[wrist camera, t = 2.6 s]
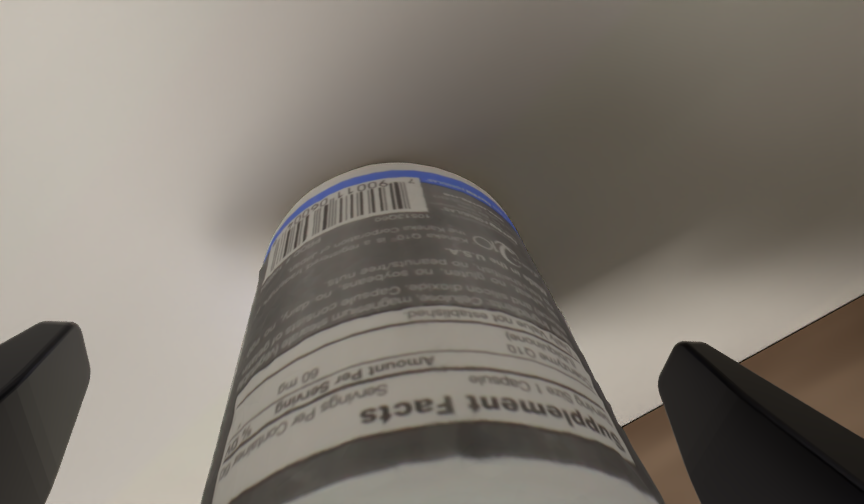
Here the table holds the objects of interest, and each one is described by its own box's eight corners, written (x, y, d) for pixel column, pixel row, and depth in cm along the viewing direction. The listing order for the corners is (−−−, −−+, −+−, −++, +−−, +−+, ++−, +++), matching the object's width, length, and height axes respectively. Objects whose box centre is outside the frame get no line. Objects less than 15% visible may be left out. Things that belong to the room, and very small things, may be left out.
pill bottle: (472, 380, 12) (656, 1090, 5) (248, 351, 10) (34, 1250, 3) (561, 188, 9) (1184, 1004, 2) (287, 121, 8) (-110, 1395, 1)
